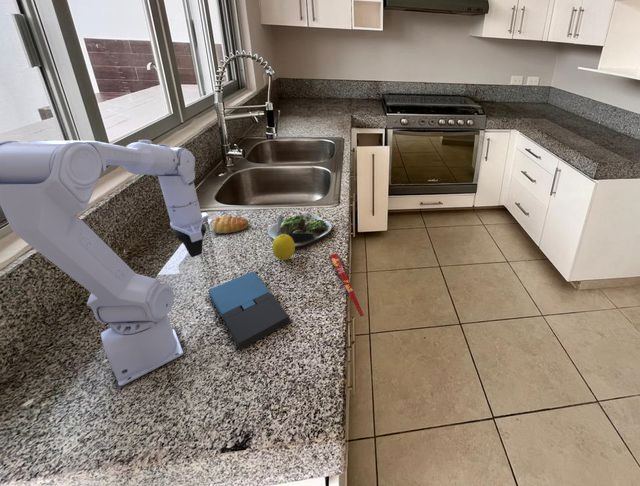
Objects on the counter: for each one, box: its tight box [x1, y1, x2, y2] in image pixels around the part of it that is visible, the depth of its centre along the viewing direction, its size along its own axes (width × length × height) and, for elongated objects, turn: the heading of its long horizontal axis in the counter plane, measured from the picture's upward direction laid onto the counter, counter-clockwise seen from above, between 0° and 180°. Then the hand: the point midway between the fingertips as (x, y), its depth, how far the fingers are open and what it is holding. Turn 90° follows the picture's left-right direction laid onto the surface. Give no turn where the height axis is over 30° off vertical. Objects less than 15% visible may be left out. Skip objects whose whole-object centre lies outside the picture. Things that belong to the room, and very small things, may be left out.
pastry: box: [212, 215, 249, 235], centre depth 105 cm, size 9×7×4 cm
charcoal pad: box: [221, 292, 291, 351], centre depth 72 cm, size 10×10×2 cm
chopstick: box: [329, 253, 364, 317], centre depth 84 cm, size 2×24×1 cm, turn 29°
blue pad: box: [208, 270, 271, 319], centre depth 78 cm, size 10×12×2 cm
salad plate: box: [267, 212, 333, 250], centre depth 104 cm, size 19×18×5 cm
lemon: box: [271, 234, 296, 261], centre depth 91 cm, size 6×6×8 cm
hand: (196, 254), depth 78 cm, fingers closed
